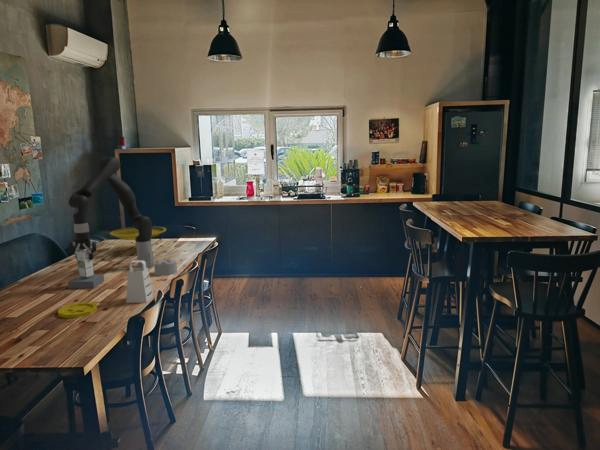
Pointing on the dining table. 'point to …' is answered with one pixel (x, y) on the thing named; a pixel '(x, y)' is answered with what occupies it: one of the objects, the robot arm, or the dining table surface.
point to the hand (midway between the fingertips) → (84, 259)
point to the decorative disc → (77, 310)
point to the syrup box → (84, 263)
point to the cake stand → (135, 234)
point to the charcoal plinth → (86, 281)
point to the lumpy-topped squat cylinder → (165, 267)
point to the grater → (138, 284)
